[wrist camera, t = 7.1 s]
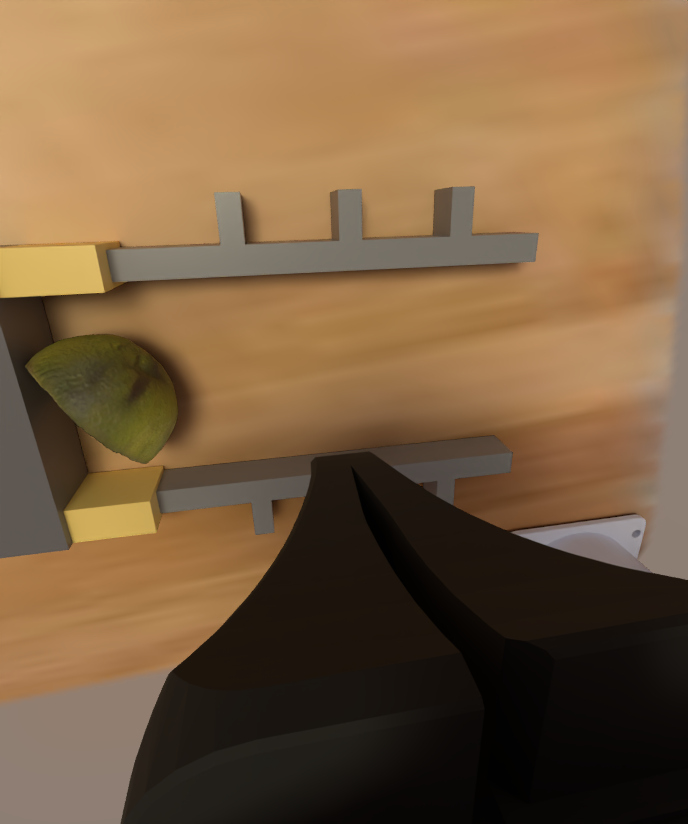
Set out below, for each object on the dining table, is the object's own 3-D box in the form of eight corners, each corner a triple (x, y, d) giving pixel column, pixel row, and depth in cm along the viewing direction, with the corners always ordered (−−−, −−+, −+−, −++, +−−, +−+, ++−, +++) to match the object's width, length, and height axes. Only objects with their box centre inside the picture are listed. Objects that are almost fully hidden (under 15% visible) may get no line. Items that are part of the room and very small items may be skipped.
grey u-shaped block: (489, 483, 23) (522, 520, 21) (44, 536, 20) (8, 588, 18) (518, 188, 18) (567, 182, 16) (-65, 201, 15) (-140, 197, 13)
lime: (178, 438, 20) (155, 503, 15) (51, 418, 19) (-14, 481, 14) (195, 336, 19) (175, 374, 14) (58, 307, 17) (-12, 338, 13)
